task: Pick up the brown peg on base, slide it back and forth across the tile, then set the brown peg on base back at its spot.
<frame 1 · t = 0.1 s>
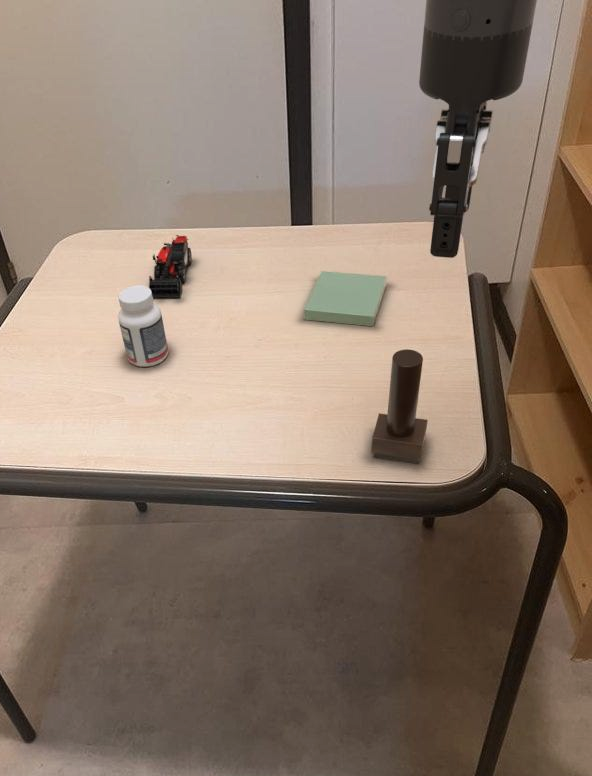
hand: (450, 231, 63), 22 cm above the table, tool pointing down, fingers open, 8 cm apart
tile: (345, 302, 96), on the table
brown peg on base: (398, 448, 75), on the table
pill bottle: (148, 356, 91), on the table
loader: (172, 278, 105), on the table
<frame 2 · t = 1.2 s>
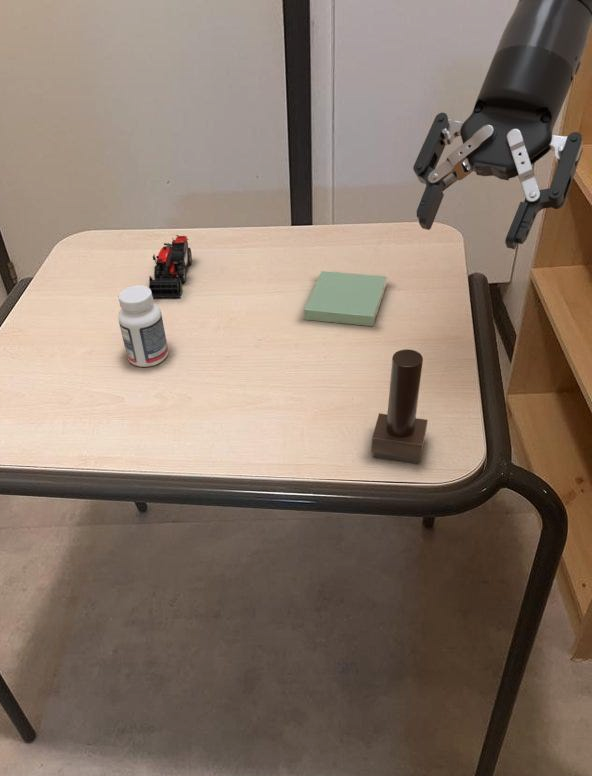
hand: (465, 236, 69), 18 cm above the table, tool tilted 45°, fingers open, 8 cm apart
nothing on the table moved.
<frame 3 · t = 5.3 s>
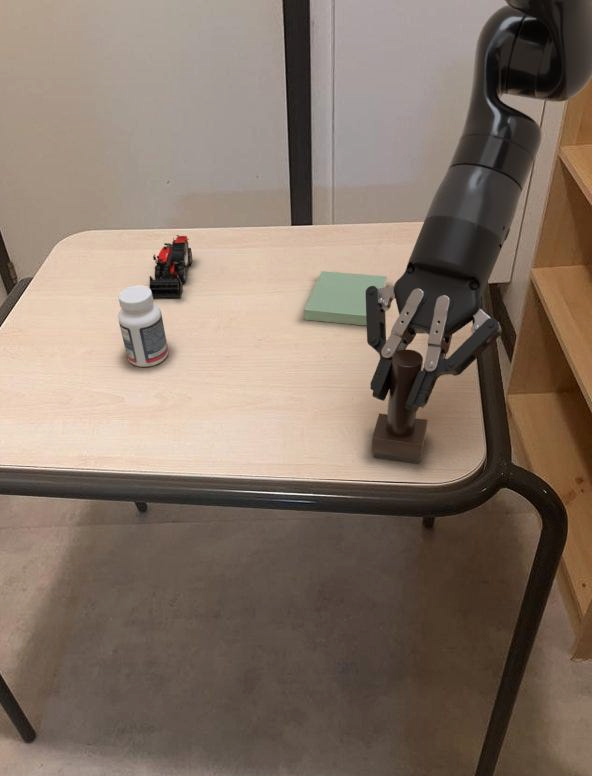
hand: (394, 403, 69), 8 cm above the table, tool tilted 45°, fingers closed on brown peg on base, 3 cm apart
brown peg on base: (398, 448, 75), on the table, touching gripper
everything else where it was.
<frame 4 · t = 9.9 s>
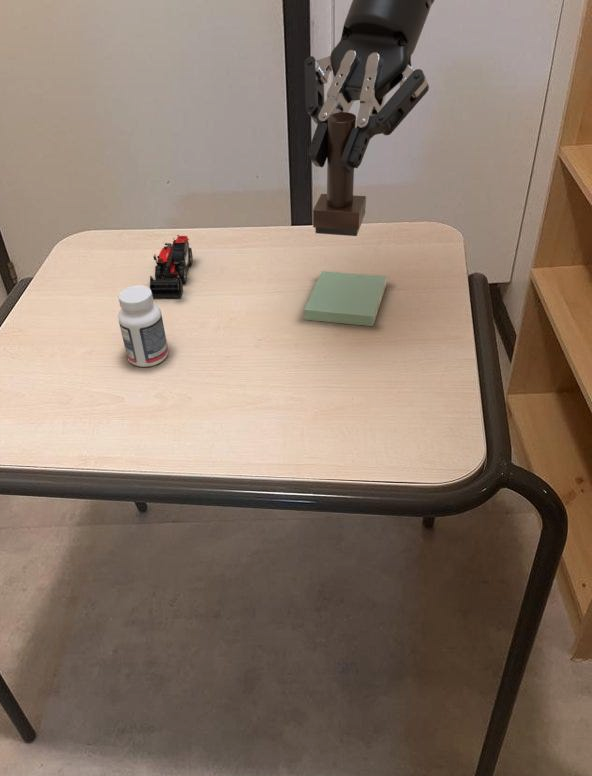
hand: (331, 165, 73), 22 cm above the table, tool tilted 45°, fingers closed on brown peg on base, 3 cm apart
brown peg on base: (339, 227, 80), point 15 cm above the table, touching gripper
everything else where it was.
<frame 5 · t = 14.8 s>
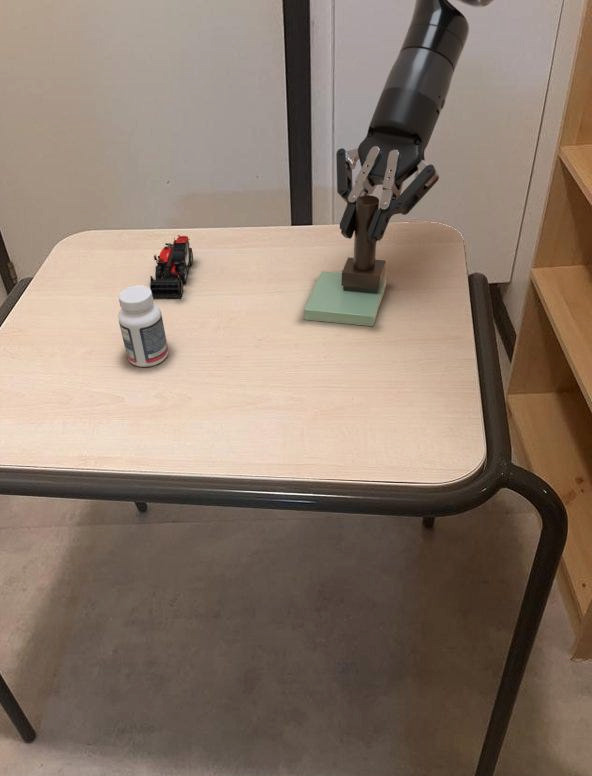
hand: (358, 238, 90), 9 cm above the table, tool tilted 45°, fingers closed on brown peg on base, 3 cm apart
brown peg on base: (362, 285, 96), point 2 cm above the table, touching gripper, tile
everything else where it was.
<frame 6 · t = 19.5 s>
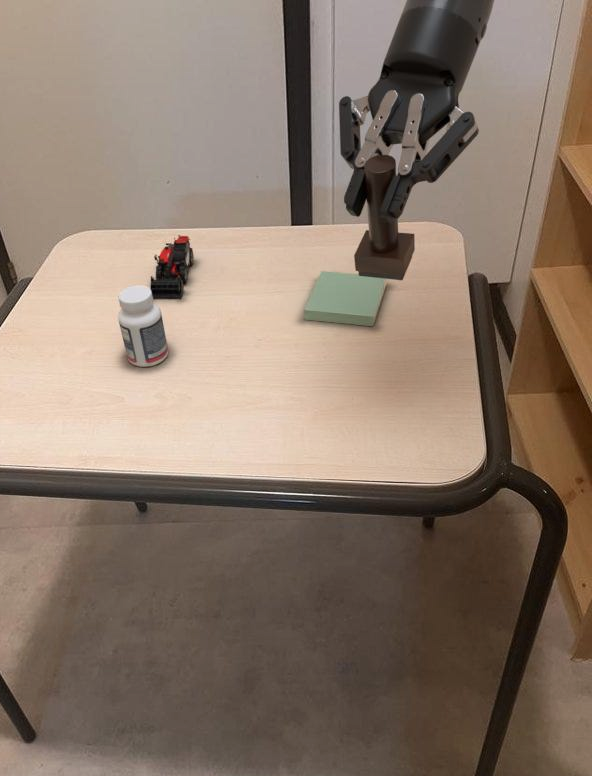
hand: (369, 215, 67), 22 cm above the table, tool tilted 45°, fingers closed on brown peg on base, 3 cm apart
brown peg on base: (385, 266, 74), point 14 cm above the table, tilted 12°, touching gripper
everything else where it was.
when the fingers open (8 cm above the table, at t = 24.1 s): brown peg on base stays where it is, on the table.
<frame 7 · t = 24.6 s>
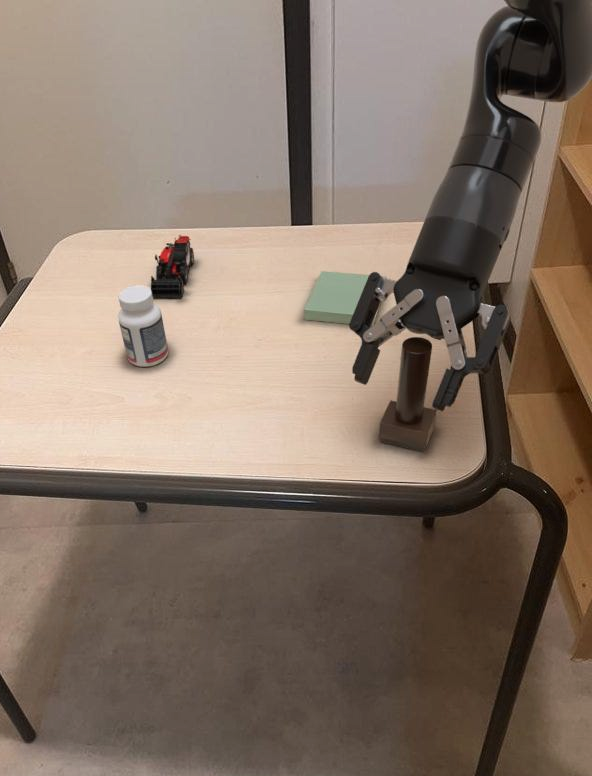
hand: (397, 395, 69), 8 cm above the table, tool tilted 45°, fingers open, 7 cm apart
brown peg on base: (406, 436, 77), on the table
everything else where it was.
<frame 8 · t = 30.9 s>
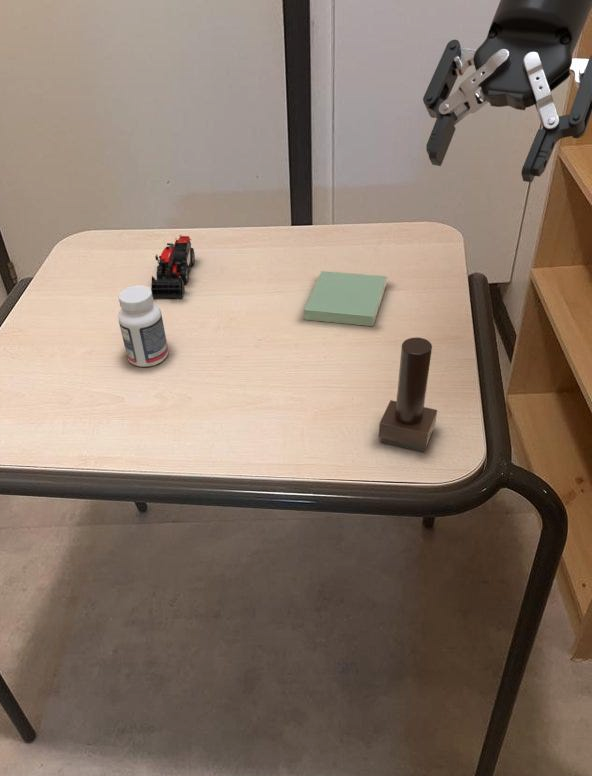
hand: (479, 169, 64), 25 cm above the table, tool tilted 45°, fingers open, 8 cm apart
nothing on the table moved.
at the end: brown peg on base inside the target area on the table beside the tile (2.2 cm from its centre), on the table; brown peg on base tilted 0°; the gripper is holding nothing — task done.
